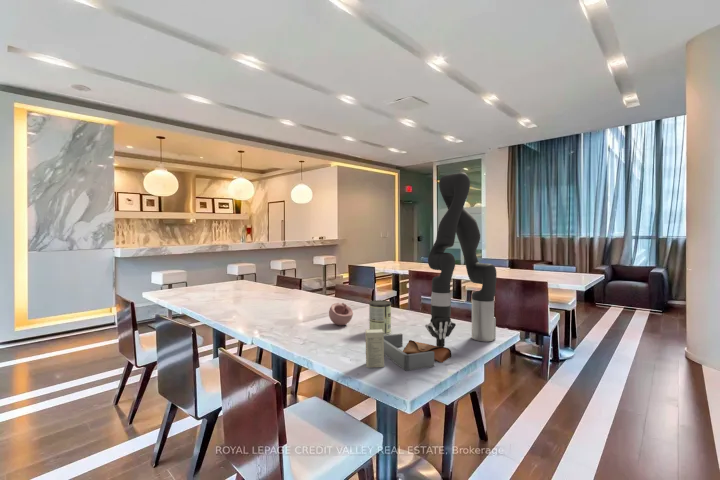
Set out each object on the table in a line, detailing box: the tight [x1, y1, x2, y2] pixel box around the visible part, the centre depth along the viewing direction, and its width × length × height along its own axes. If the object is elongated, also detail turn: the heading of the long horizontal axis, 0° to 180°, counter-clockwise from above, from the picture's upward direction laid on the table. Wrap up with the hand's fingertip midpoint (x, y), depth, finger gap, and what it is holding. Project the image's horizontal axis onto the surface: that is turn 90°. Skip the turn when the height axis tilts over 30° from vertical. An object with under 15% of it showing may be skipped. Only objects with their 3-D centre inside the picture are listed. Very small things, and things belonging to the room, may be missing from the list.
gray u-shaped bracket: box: [384, 333, 435, 372], centre depth 132 cm, size 11×24×5 cm, turn 21°
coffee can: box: [368, 299, 392, 335], centre depth 164 cm, size 10×10×14 cm
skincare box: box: [365, 329, 385, 369], centre depth 123 cm, size 6×4×12 cm
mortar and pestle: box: [328, 302, 354, 326], centre depth 177 cm, size 12×12×12 cm
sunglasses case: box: [402, 339, 452, 363], centre depth 134 cm, size 18×7×7 cm
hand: (440, 347), depth 137 cm, fingers closed
